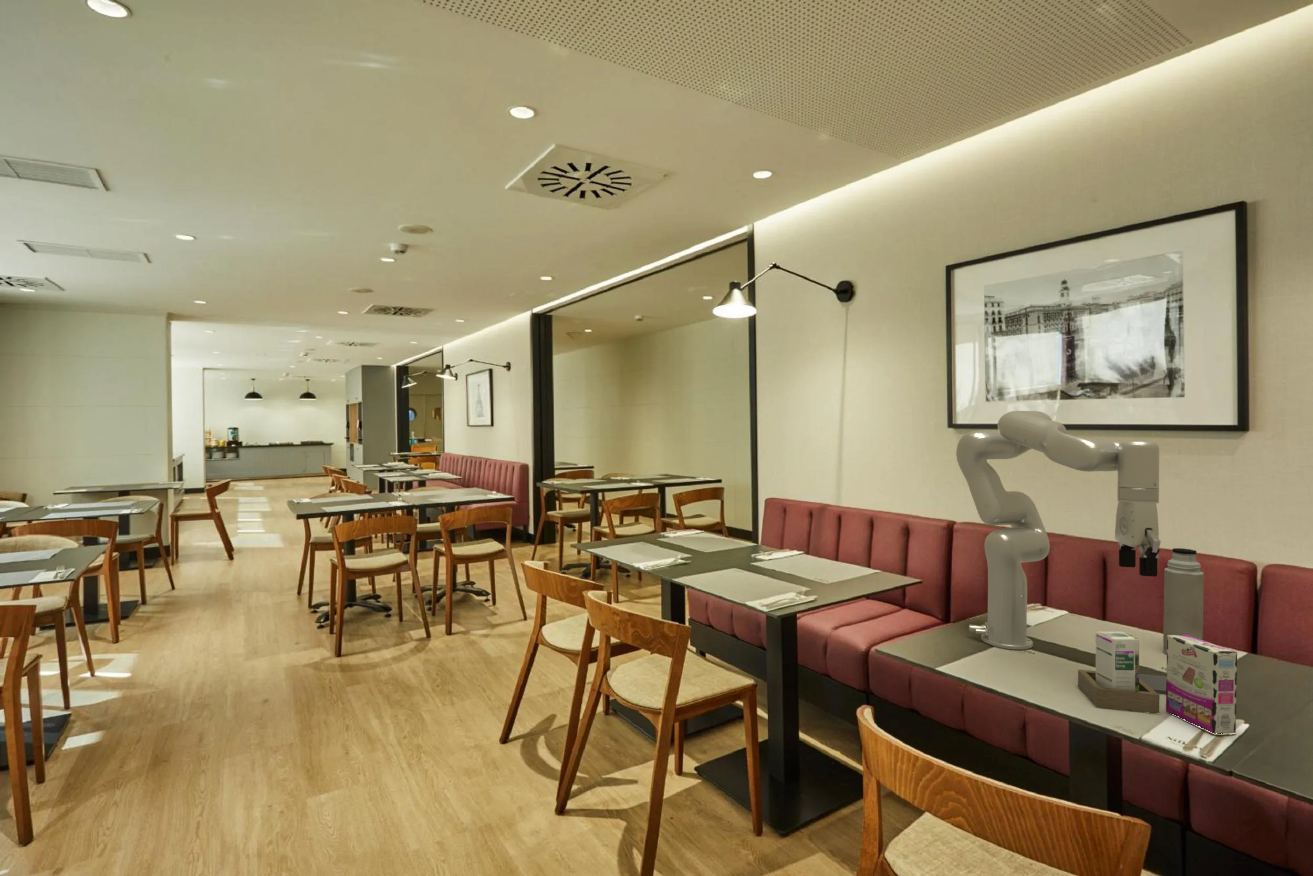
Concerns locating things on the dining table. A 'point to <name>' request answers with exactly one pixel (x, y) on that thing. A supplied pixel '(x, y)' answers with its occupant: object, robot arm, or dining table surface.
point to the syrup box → (1117, 660)
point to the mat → (1155, 682)
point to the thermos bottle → (1183, 596)
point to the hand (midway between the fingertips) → (1137, 571)
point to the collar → (1118, 695)
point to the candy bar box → (1201, 683)
